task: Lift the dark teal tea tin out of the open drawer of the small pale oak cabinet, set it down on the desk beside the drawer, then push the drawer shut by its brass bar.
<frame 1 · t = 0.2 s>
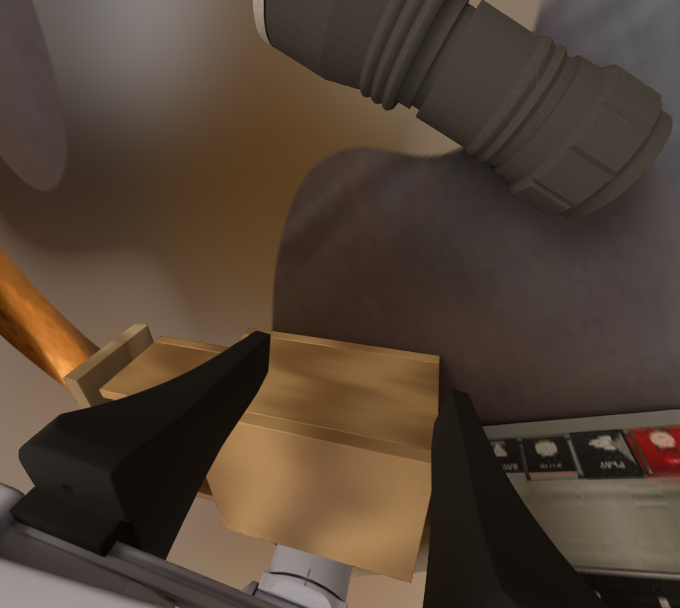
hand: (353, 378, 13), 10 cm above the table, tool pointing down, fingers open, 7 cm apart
cassette tape recorder: (566, 440, 25), on the table
drawer: (176, 414, 29), point 4 cm above the table, slide at 9.0 cm, touching tea tin
cabinet: (339, 404, 29), on the table
flashlight: (449, 72, 16), on the table
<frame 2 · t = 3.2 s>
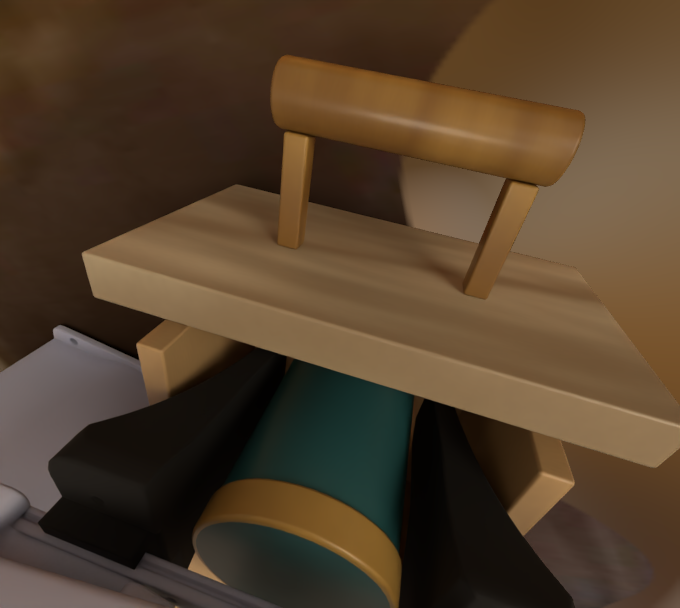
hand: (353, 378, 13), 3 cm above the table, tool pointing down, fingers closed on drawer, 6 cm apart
tea tin: (359, 359, 15), point 2 cm above the table, touching drawer
drawer: (351, 379, 12), point 4 cm above the table, slide at 9.0 cm, touching gripper, tea tin
cabinet: (331, 471, 23), on the table
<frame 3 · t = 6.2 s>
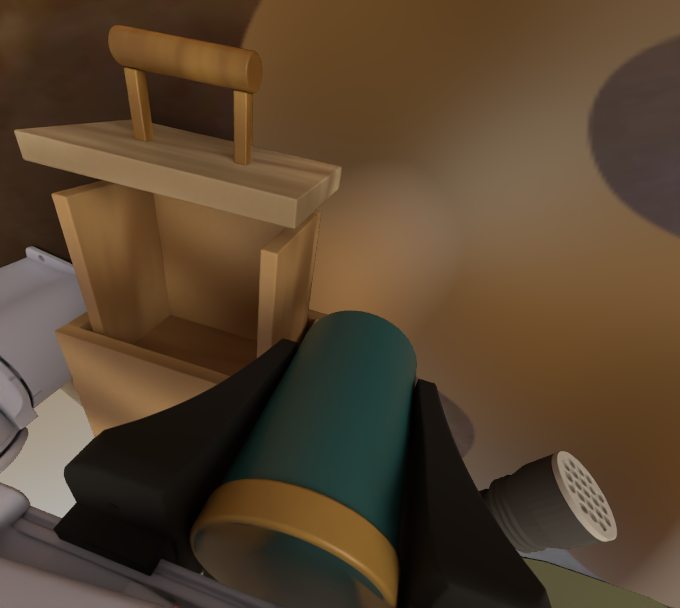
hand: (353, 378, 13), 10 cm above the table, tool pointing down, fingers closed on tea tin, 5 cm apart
tea tin: (358, 358, 14), point 9 cm above the table, touching gripper
drawer: (204, 241, 19), point 4 cm above the table, slide at 9.0 cm
cabinet: (241, 362, 29), on the table
flashlight: (491, 484, 30), on the table
when the fingers open (1 cm above the table, at t = 8.8 s): tea tin stays where it is, on the table.
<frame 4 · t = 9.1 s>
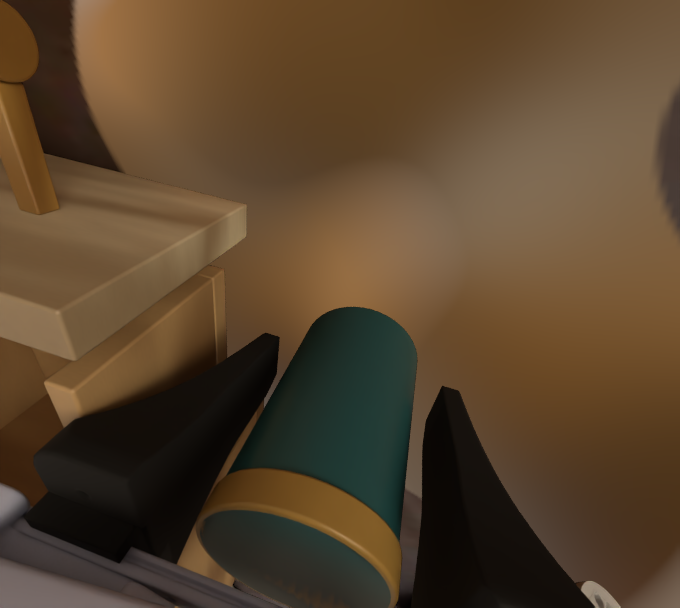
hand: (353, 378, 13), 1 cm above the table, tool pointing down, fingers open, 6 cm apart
tea tin: (359, 354, 15), on the table
drawer: (34, 320, 12), point 4 cm above the table, slide at 9.0 cm, touching gripper
cabinet: (163, 440, 23), on the table
flashlight: (488, 597, 23), on the table
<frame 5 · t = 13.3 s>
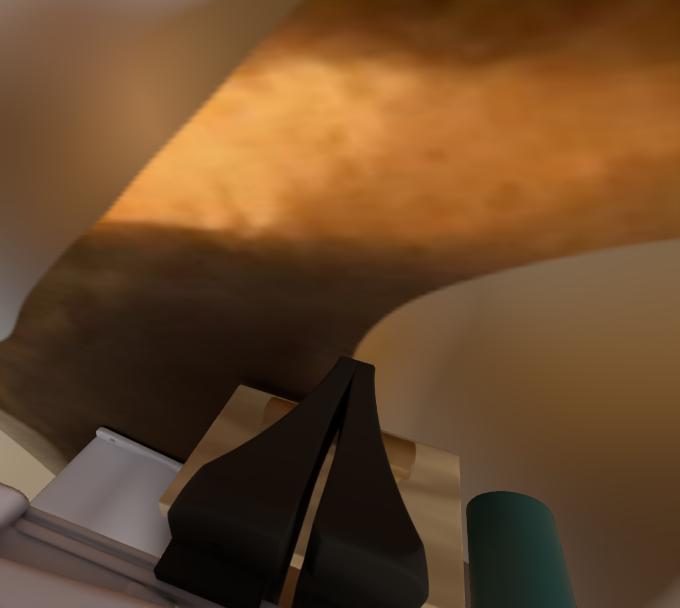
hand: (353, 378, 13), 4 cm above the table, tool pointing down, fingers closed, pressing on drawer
tea tin: (508, 515, 21), on the table
drawer: (315, 522, 18), point 4 cm above the table, slide at 8.4 cm, touching gripper
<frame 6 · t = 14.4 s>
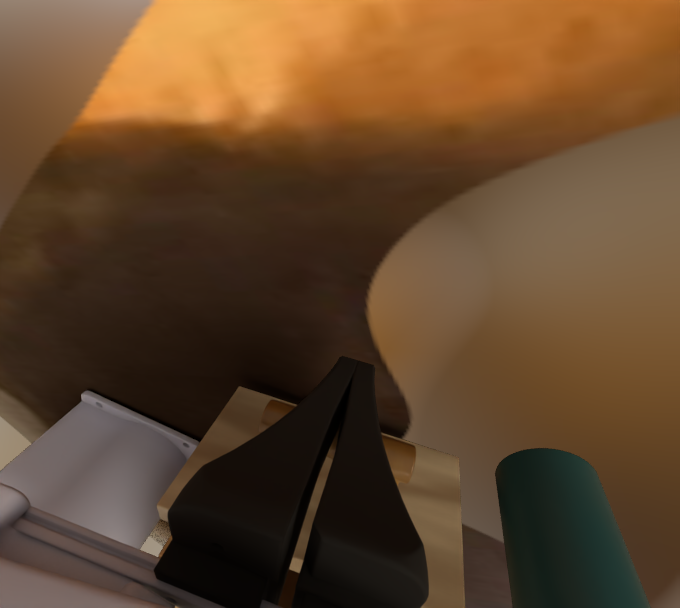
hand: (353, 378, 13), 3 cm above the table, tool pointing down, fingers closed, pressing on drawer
tea tin: (544, 478, 18), on the table
drawer: (314, 525, 18), point 4 cm above the table, slide at 3.9 cm, touching gripper
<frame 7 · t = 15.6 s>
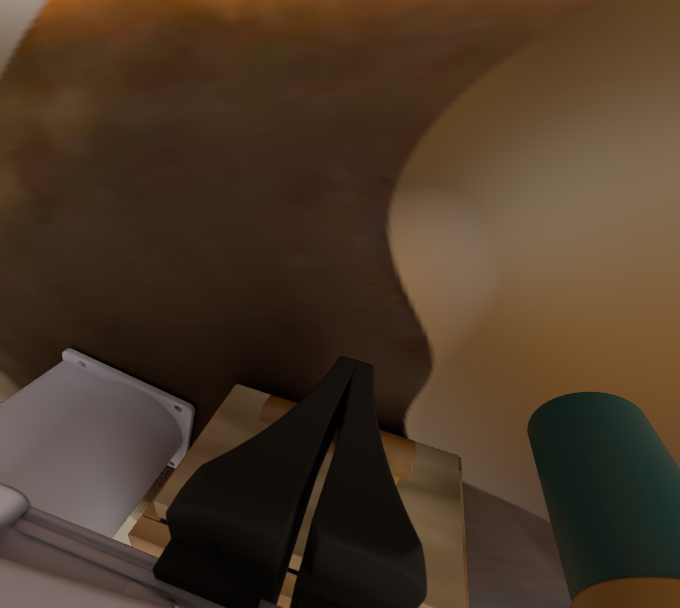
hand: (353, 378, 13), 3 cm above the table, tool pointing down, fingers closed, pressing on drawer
tea tin: (584, 429, 16), on the table
drawer: (313, 524, 18), point 4 cm above the table, slide at 0.0 cm, touching cabinet, gripper
cabinet: (325, 487, 24), on the table
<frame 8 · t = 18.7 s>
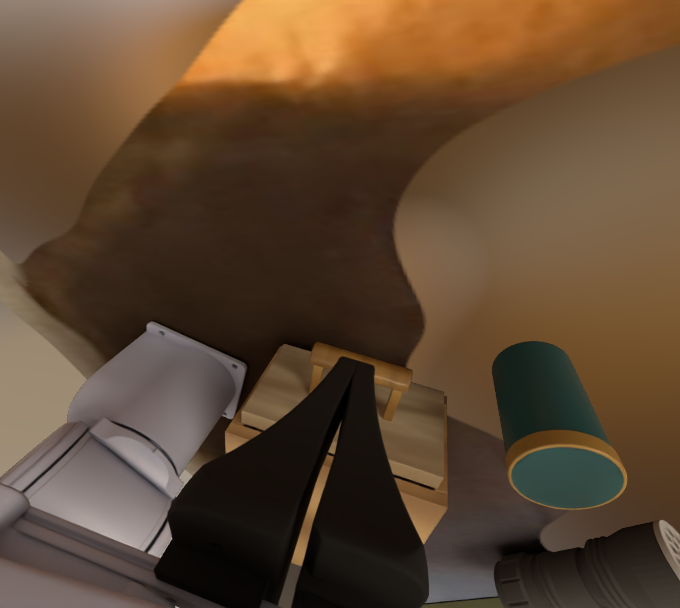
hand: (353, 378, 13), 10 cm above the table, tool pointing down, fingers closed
cassette tape recorder: (325, 518, 41), on the table
tea tin: (530, 369, 23), on the table
drawer: (340, 442, 25), point 4 cm above the table, slide at 0.0 cm, touching cabinet
cabinet: (345, 427, 31), on the table
flashlight: (578, 541, 31), on the table
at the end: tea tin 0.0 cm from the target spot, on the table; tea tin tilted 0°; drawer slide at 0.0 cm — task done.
